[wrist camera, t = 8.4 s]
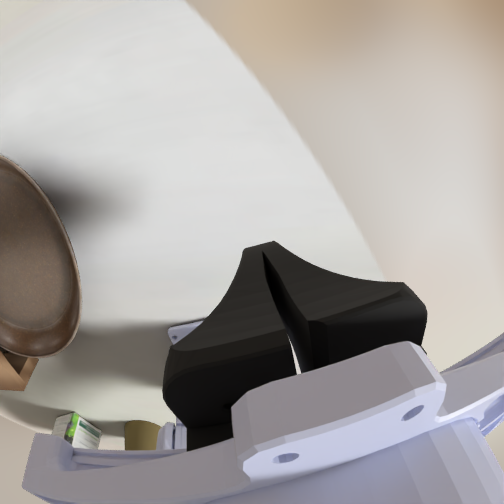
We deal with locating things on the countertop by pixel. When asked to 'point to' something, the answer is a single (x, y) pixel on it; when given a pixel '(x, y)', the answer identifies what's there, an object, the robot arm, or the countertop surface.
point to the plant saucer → (34, 270)
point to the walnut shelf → (15, 371)
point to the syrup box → (77, 431)
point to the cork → (141, 435)
